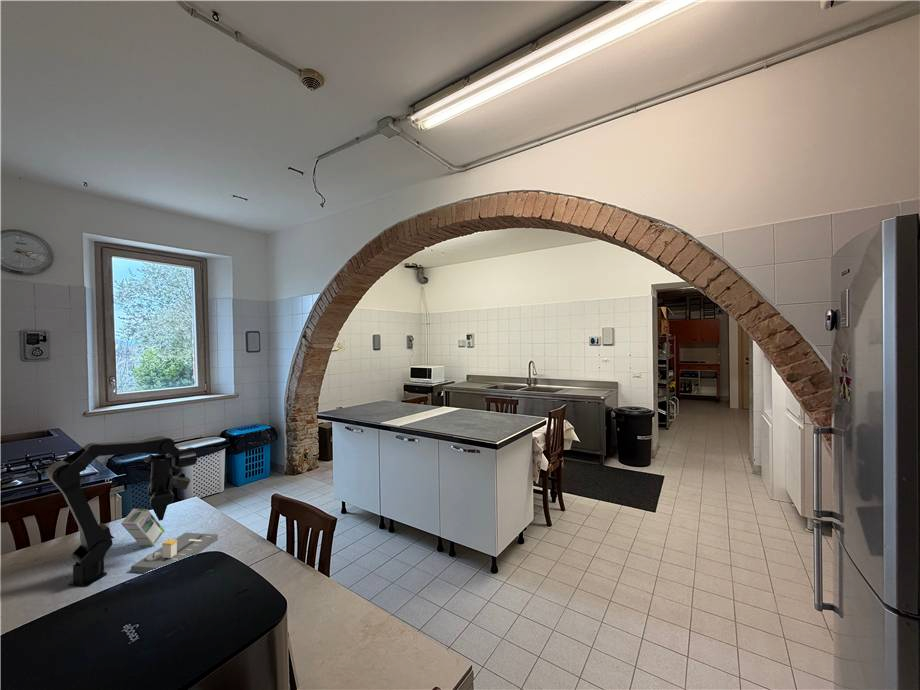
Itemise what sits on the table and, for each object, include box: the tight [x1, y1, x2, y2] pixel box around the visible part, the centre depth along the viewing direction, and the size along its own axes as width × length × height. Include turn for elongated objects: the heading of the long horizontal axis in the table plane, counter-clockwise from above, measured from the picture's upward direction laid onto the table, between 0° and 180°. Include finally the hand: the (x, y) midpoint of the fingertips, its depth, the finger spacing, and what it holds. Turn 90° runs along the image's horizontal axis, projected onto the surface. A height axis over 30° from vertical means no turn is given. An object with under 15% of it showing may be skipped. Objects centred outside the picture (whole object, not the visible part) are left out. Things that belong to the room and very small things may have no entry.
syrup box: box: [120, 508, 166, 547], centre depth 137 cm, size 6×6×14 cm
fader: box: [161, 538, 177, 558], centre depth 128 cm, size 3×3×5 cm
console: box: [130, 532, 219, 574], centre depth 133 cm, size 22×13×3 cm, turn 175°
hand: (159, 515), depth 134 cm, fingers open, 9 cm apart
